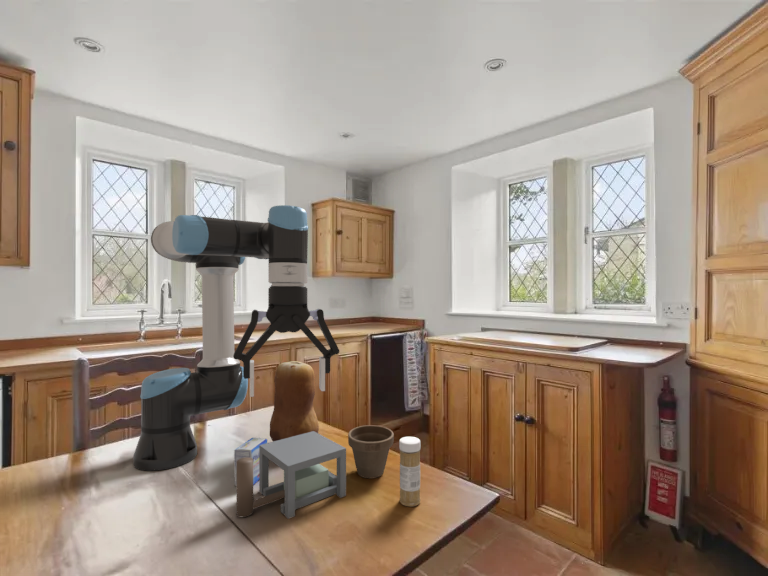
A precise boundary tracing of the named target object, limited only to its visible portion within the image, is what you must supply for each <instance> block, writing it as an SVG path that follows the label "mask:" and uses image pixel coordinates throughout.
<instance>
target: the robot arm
mask: <svg viewBox="0 0 768 576" xmlns="http://www.w3.org/2000/svg"><path fill="white" fill-rule="evenodd" d="M308 231H309V226H308V213H307V211H306V209H305V208H302V207H300V206H296V205H286V204H284V205H281V204H280V205H274V206H271V207H270V208H269V211H268V218H267V222H259V221H258V222H257V221H248V220H239V219H229V218H227V219H225V218H219V217H218V218H217V217H209V216H200V215H196V214H188V215H187V214H180V215H177V216H176V217H175V218H174V221H173V220H171V221H169V220H168V221H166V222H165V221H164V222H162V223H160V224H158V225H156V227H154V228H153V230H152V232H151V234H150V243H151V246H152V249H153V250H154V251H155V252H156V253H157V254H158V255H160V256H161V257H163V258H165V259H168V260H171V261H175V262H179V263H189V264H195V270H196V272H198V273H199V274H200V276H201V306H202V307H201V311H202V313H201V314H202V315H201V316H202V321H201V322H202V328H201V329H202V359H201V360H200V362H198V364H197V365H196V371H195V372H192V371H191V370H190V369H191V368H188V367H177V368H176V367H175V368H174V367H173V368H170V369H164V370H161V371H157V372H154V373H152V374H149V375H148V376H146V377H145V378H144V379H143V380H142V382H141V388H140V389H141V390H140V395H139V396H140V397H139V398H140V399H141V401H140V405H141V406H140V407H141V412H140V413H141V414H140V418H141V419H140V423H141V424H140V429H141V430H140V436H139V438H138V442H137V444H136V448H135V450H134V452H133V457H132V459H133V460H132V462H133V463H132V466H133V467H134V468H135V469H137V470H140V471H147V472H148V471H151V472H152V471H162V470H169V469H173V468H177V467H178V466H182V465H184V464H187V463H188V462H191V461H192V460H194V459H195V458H196V457H197V455H198V445H197V442H196V439H195V436H194V433H193V430H192V428H191V416H196V415H201V414H202V415H203V414H206V413H213V412H218V411H228V410H229V409H233V408H234V409H235V408H237V407H239V406H241V405H242V404H243V402H244V401H245V398H246V396H247V392H248V388H249V398H251V397H252V398H253V397H255V360H254V359H252V358H254V356H255V355H256V354H257V353H258V352H259V351H260V350H261V348H262V347H263V346H264V344H265V343H267V341H268V340H269V339H270V338H271V337H272V336H273V334H274V333H276V331H277V332H278V333H280V334H285V333H288V332H290V333H297V332H299V331H301V332H302V333H303V334H304V335H305V336H306V337H307V339H309V341H310V342H311V343H312V344H313V346H315V348H317V350H319V352H320V353H321V354H322V356H319V358H318V359H319V363H318V365H319V366H318V370H319V371H318V373H319V374H318V375H319V378H318V380H319V383H318V386H319V387H318V388H319V390H320V391H321V392H326V374H330V372H331V357H333V356H335V355H339V353H340V349H339V347H338V345H337V343H336V341H335V339H334V337H333V335H332V333H331V331H330V328H329V327H328V325H327V323H326V321H325V315H324V310H323V309H321V308H317V309H315V310H309V307H308V288H307V286H305V284H307V283H308V242H309V241H308V240H309V238H308V237H309V235H308V234H309V232H308ZM246 258H254V259H258V260H268V283H269V284H271V285H270V286H269V287H268V291H267V295H268V299H267V300H268V302H267V303H268V308H267V311H264V310H258V309H252V310H251V317H250V318H251V319H250V322H249V324H248V326H247V327H246V329H245V331H244V333H243V335H242V337H241V339H240V341H239V342H238V345H237V346H236V349H235V306H234V305H235V304H234V303H235V301H234V299H235V298H234V297H235V295H234V275H235V274H236V273H237V272H239V270H240V269H239V267H240V265H243V264H244V262H245V261H246V260H245V259H246ZM310 317H311V318H312V320H314V321H316V322H317V325H318V327H319V328H320V330H321V333H322V335H323V337H324V339H325V340H326V342H327V345H328V346H329V349H327V348H326V347H325V345H324V344H323V343H322V342H321V341H320V340H319V339H318V337H317V336H316V335H315V334H314V333H313V332H312V331H311V329H310V328H309V327H308V326H307V325H306V322H307V321H308V320H309V318H310ZM263 318H266V319H267V320H268V321H269V323H270V324H269V326H268V327H266V330H264V332H263V333H262V334H261V335H260V336H259V337H258V339H257V340H256V341H255V342H254V343H253V344H252V346H251V347H250V348H249V349H248V350H247V351H246V353H244V350H245V348H246V346H247V344H248V343H249V340H250V338H251V336H252V335H253V333H254V332H255V329H256V327H257V325H258V323H260V322H262V321H263ZM241 362H242V365H243V366H241ZM248 386H249V387H248Z"/></svg>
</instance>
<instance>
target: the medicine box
mask: <svg viewBox="0 0 768 576" xmlns="http://www.w3.org/2000/svg"><path fill="white" fill-rule="evenodd" d="M266 443H268V439H267V438H265V437H251V438H249V439H248V440H246V441H245V442H244V443H242V444H241V445H239V446H238V447H236V448H235V449H234V450H233V456H234V458H233V459H234V460H233V461H234V463H233V464H234V470H233V471H234V486H236V487H237V460H239V459H241V458H245V457H250V458H253V486H255V485H256V484H257V483H258V482H259V445H262V444H266Z"/></svg>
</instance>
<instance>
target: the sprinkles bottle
mask: <svg viewBox="0 0 768 576" xmlns="http://www.w3.org/2000/svg"><path fill="white" fill-rule="evenodd" d="M398 445H399V447H398V448H399V489H400V490H399V502H400V504H401V505H403V506H405V507H409V508H410V507H416V506H418V505H420V503H421V459H420V458H421V453H420V452H421V447H422V446H421V439H419V438H418V437H415V436H403V437H401V438H400V439H399V443H398Z"/></svg>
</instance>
